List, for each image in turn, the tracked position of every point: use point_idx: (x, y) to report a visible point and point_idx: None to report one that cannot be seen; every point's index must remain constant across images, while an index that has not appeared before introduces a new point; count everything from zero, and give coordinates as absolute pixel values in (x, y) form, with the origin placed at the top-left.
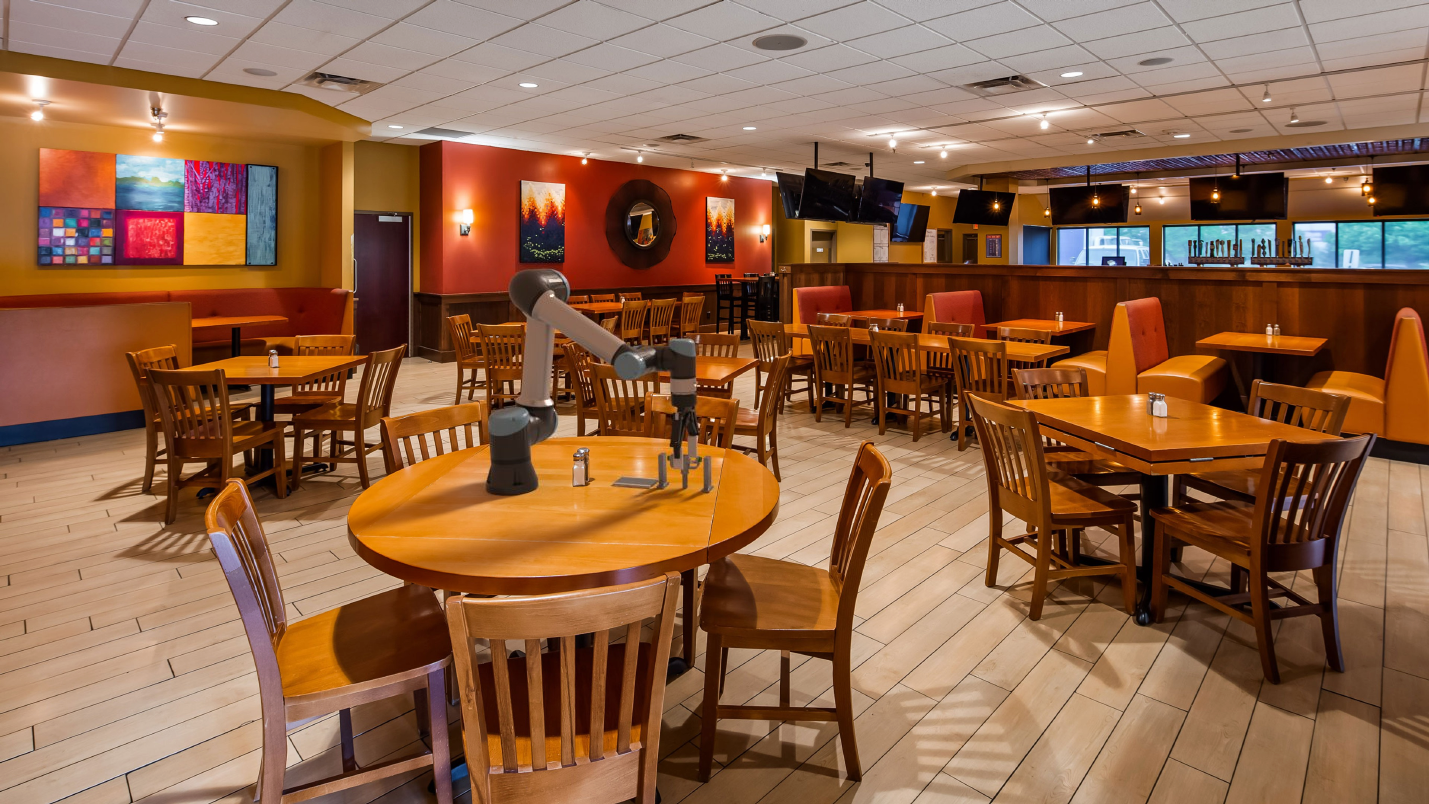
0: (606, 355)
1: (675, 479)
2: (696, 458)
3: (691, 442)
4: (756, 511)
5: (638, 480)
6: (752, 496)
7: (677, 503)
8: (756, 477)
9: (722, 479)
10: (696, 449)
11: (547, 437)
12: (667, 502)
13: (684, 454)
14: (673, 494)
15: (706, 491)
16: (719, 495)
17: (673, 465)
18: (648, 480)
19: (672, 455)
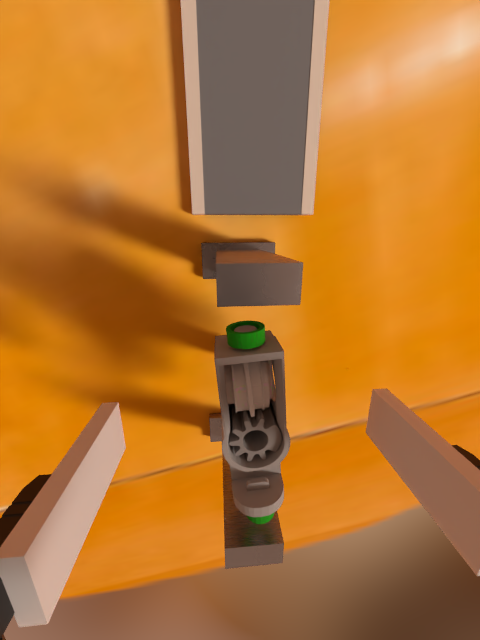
0: None
1: (342, 277)
2: (239, 503)
3: (439, 488)
4: (93, 578)
5: (269, 114)
6: (213, 539)
7: (56, 385)
8: (394, 501)
9: (363, 428)
10: (397, 471)
11: None
12: (49, 350)
13: (283, 435)
14: (149, 337)
15: (210, 431)
16: (193, 469)
17: (92, 417)
18: (279, 170)
19: (273, 356)
